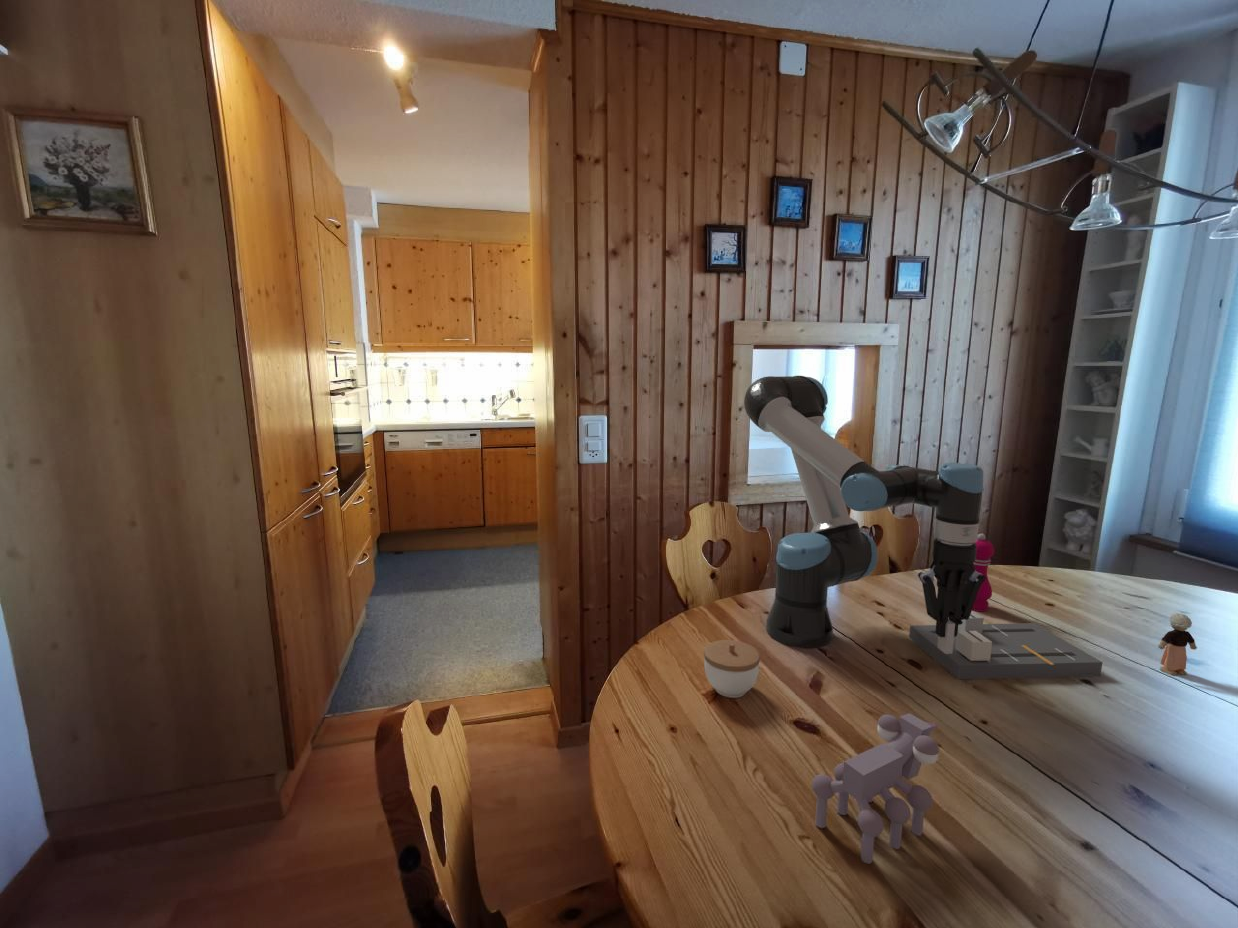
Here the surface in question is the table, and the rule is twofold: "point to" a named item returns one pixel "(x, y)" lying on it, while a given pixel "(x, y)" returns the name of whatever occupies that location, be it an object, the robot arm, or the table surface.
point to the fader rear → (972, 623)
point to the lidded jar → (731, 667)
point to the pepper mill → (983, 572)
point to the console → (1012, 653)
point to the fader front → (973, 645)
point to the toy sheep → (883, 781)
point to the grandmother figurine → (1176, 645)
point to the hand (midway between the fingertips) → (944, 650)
